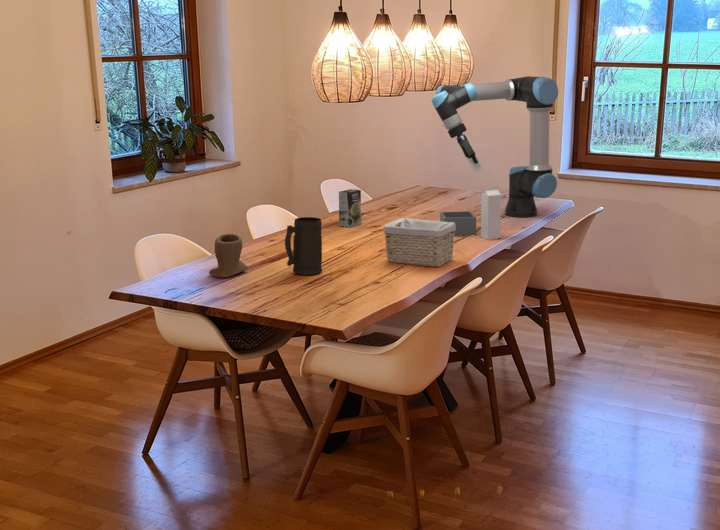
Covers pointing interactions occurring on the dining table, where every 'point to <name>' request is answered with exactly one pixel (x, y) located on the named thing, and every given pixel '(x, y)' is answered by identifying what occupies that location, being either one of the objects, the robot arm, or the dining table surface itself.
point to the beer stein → (305, 245)
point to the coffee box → (349, 208)
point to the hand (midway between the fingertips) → (478, 170)
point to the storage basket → (419, 241)
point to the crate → (461, 222)
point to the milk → (490, 213)
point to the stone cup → (228, 256)
